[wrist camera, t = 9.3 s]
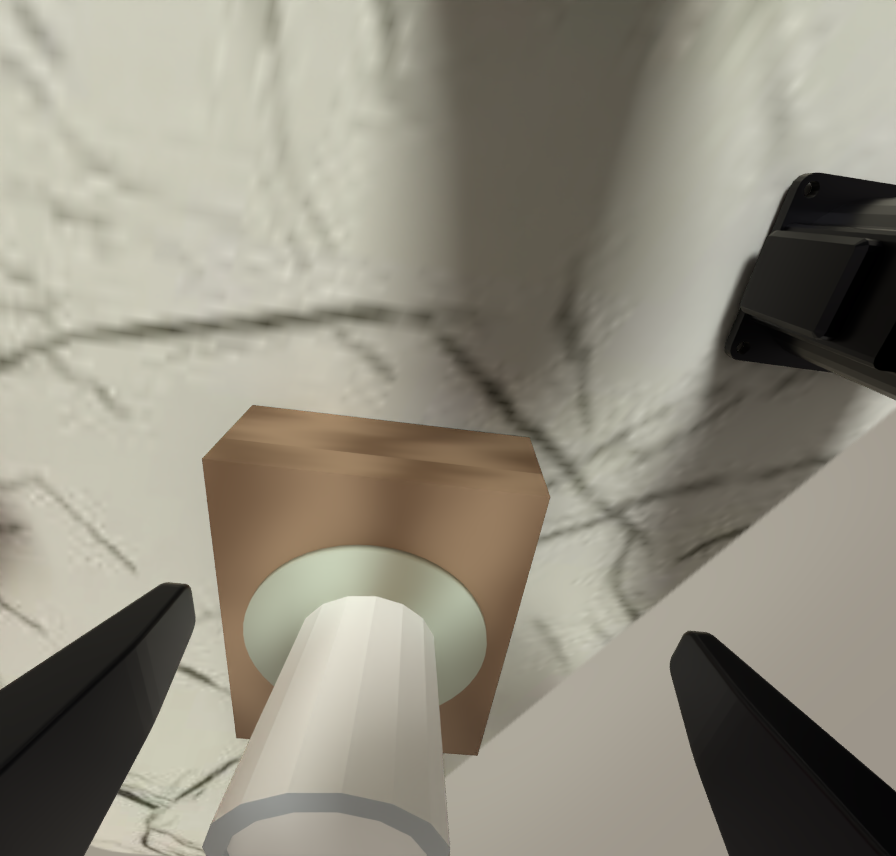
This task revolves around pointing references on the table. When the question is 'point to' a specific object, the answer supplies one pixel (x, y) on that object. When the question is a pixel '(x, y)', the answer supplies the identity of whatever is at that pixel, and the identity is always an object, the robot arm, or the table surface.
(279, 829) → the white cup
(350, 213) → the table surface
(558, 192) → the table surface
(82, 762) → the robot arm
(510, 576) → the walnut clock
